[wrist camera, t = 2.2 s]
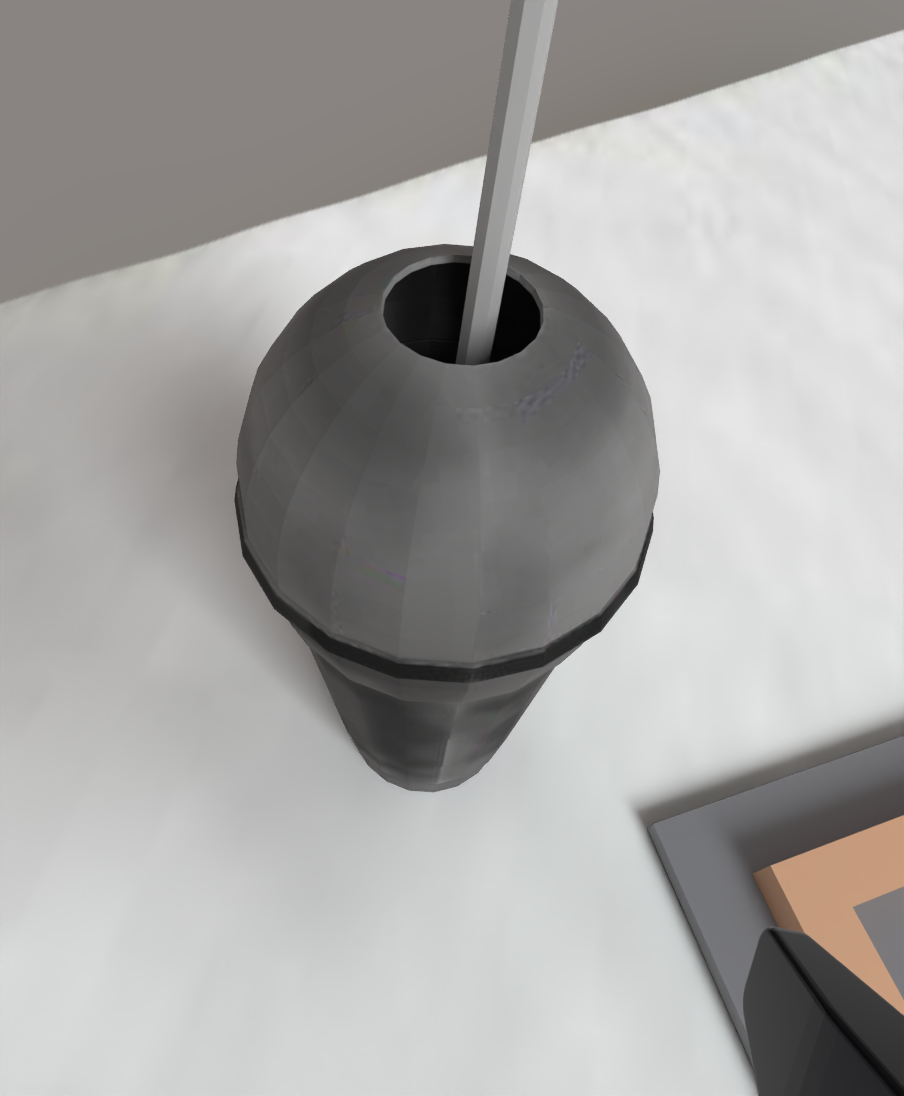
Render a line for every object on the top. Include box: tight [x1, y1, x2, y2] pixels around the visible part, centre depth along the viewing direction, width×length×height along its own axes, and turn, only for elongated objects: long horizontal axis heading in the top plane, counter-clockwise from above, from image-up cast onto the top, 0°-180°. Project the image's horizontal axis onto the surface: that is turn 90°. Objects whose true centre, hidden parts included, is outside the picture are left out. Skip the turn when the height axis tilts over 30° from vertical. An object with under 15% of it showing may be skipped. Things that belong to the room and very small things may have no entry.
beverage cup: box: [235, 0, 660, 792], centre depth 15 cm, size 7×7×20 cm
